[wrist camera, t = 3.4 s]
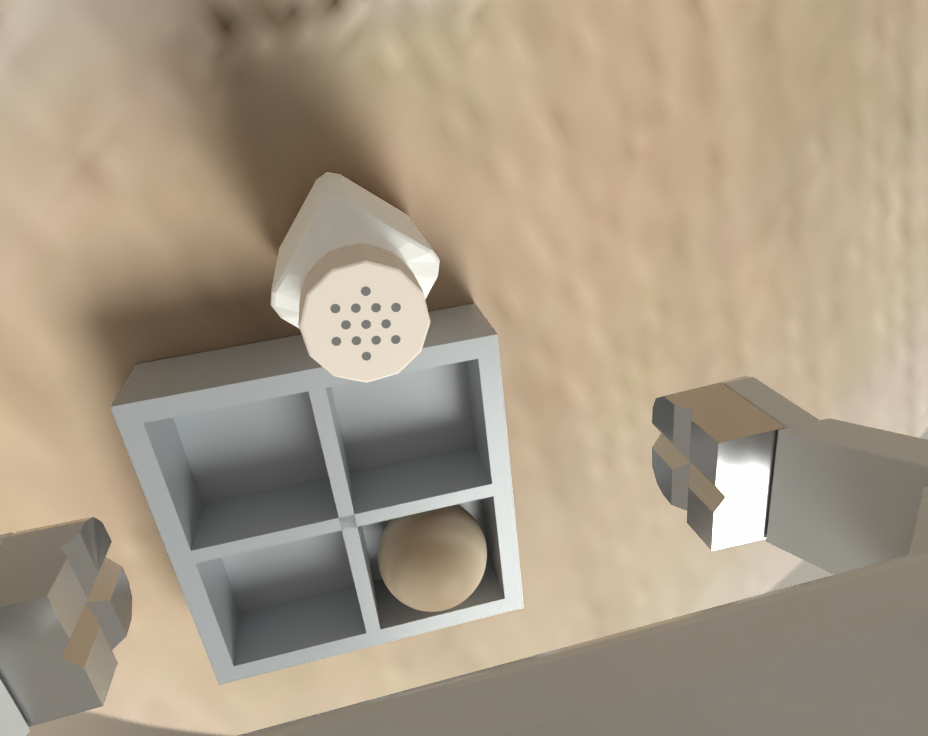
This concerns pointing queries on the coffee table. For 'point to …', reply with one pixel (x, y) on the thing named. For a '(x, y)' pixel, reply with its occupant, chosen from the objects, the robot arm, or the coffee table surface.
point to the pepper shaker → (355, 281)
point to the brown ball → (432, 558)
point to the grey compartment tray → (318, 487)
